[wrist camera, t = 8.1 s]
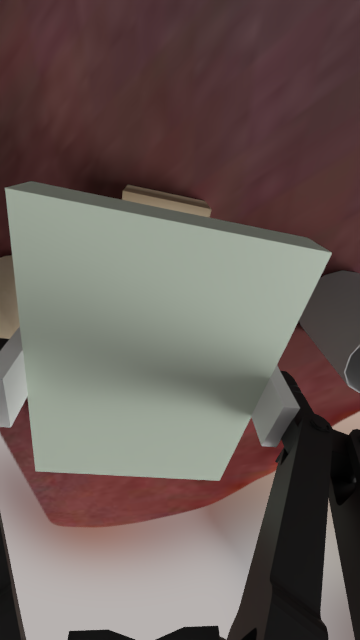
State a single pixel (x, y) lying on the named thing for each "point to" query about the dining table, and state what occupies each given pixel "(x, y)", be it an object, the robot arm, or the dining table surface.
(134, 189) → the block
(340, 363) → the cup
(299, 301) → the lid
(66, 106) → the dining table surface
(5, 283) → the candle
